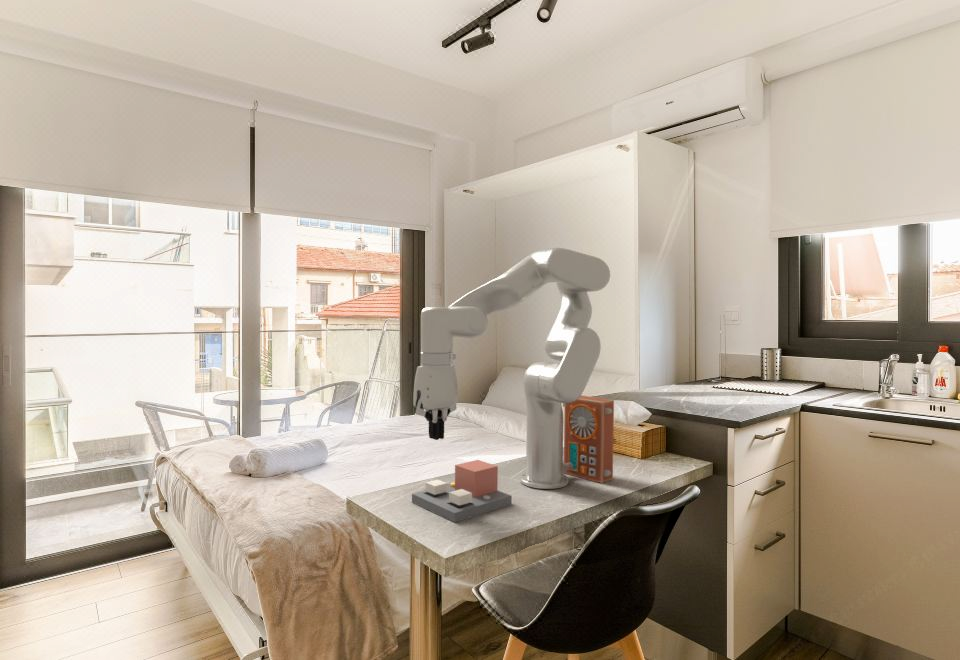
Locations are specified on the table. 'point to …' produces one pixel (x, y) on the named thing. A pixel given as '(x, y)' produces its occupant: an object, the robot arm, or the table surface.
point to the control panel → (589, 438)
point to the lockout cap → (476, 477)
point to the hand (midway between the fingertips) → (436, 438)
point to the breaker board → (452, 511)
